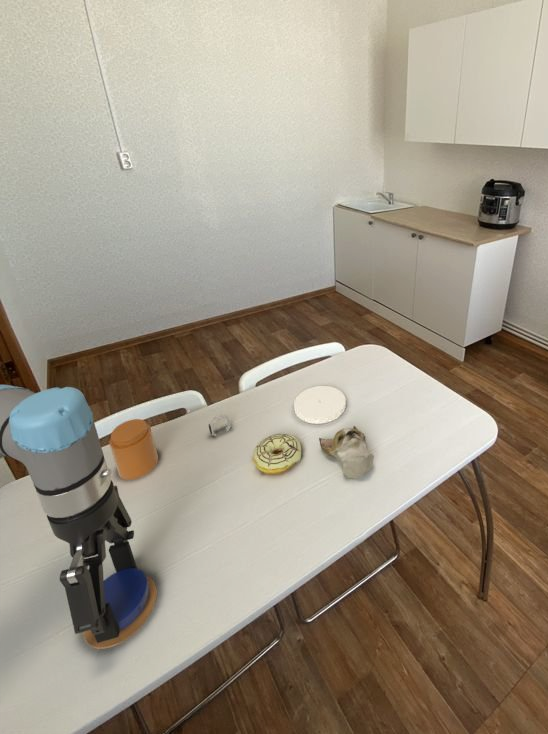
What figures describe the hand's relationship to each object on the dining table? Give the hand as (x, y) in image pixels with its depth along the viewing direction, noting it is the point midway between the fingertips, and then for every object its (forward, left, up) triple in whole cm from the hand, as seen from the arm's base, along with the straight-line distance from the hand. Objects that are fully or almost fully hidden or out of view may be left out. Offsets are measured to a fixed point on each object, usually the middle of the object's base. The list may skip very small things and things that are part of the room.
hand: (118, 602), depth 60 cm
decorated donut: (+10, +34, -2) cm, 36 cm away
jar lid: (0, 0, +1) cm, 1 cm away
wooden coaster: (0, 0, -2) cm, 2 cm away
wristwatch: (-8, +38, -2) cm, 39 cm away
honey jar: (-20, +24, -2) cm, 31 cm away
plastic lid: (+13, +53, -2) cm, 55 cm away
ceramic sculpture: (+26, +38, -2) cm, 46 cm away
